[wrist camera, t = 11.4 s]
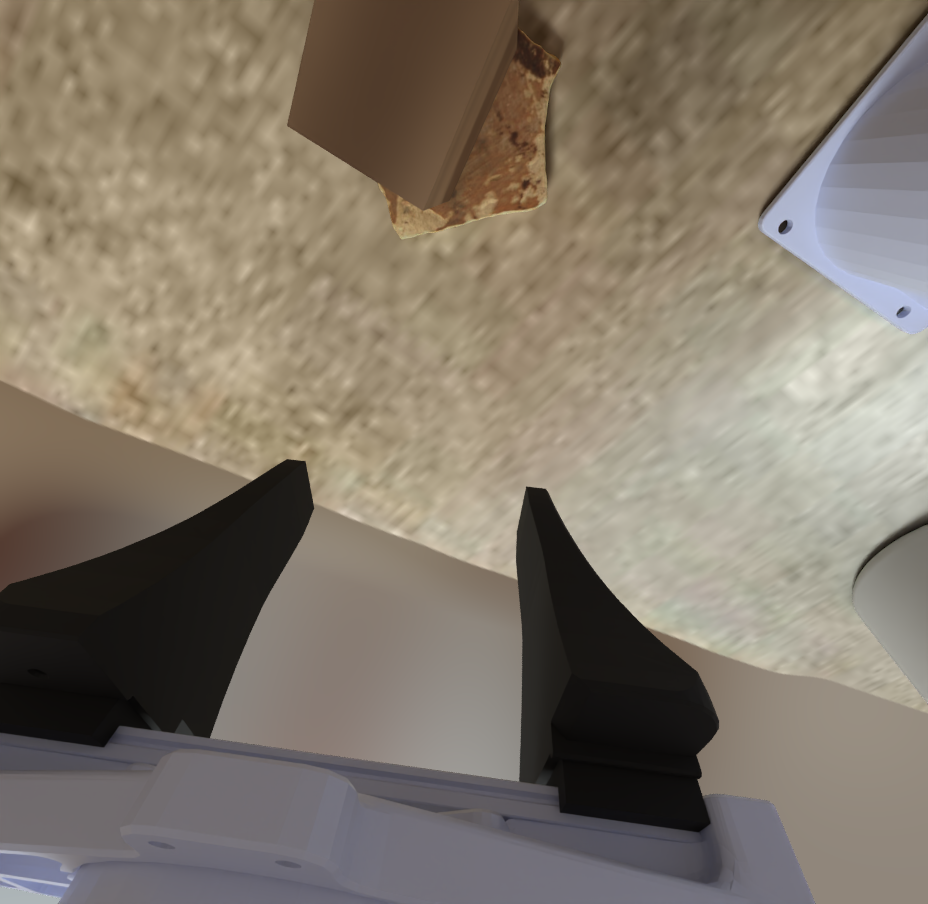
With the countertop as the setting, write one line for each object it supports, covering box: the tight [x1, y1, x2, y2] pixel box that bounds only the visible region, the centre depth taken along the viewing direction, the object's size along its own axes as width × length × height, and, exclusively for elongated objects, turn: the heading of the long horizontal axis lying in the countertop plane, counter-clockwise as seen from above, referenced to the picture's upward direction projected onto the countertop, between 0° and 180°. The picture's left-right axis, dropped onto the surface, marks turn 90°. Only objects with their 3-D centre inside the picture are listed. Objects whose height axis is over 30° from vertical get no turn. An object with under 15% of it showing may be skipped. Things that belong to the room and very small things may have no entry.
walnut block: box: [287, 0, 519, 211], centre depth 12 cm, size 4×5×6 cm
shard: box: [377, 28, 561, 240], centre depth 15 cm, size 11×8×2 cm
